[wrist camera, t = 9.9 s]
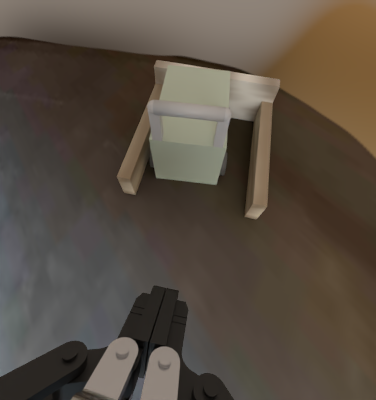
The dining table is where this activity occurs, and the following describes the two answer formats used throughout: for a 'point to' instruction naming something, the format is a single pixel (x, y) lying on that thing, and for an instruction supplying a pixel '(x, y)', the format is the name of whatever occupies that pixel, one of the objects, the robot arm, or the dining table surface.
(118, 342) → the robot arm
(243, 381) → the dining table surface
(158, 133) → the sage trolley
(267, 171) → the birch bay
